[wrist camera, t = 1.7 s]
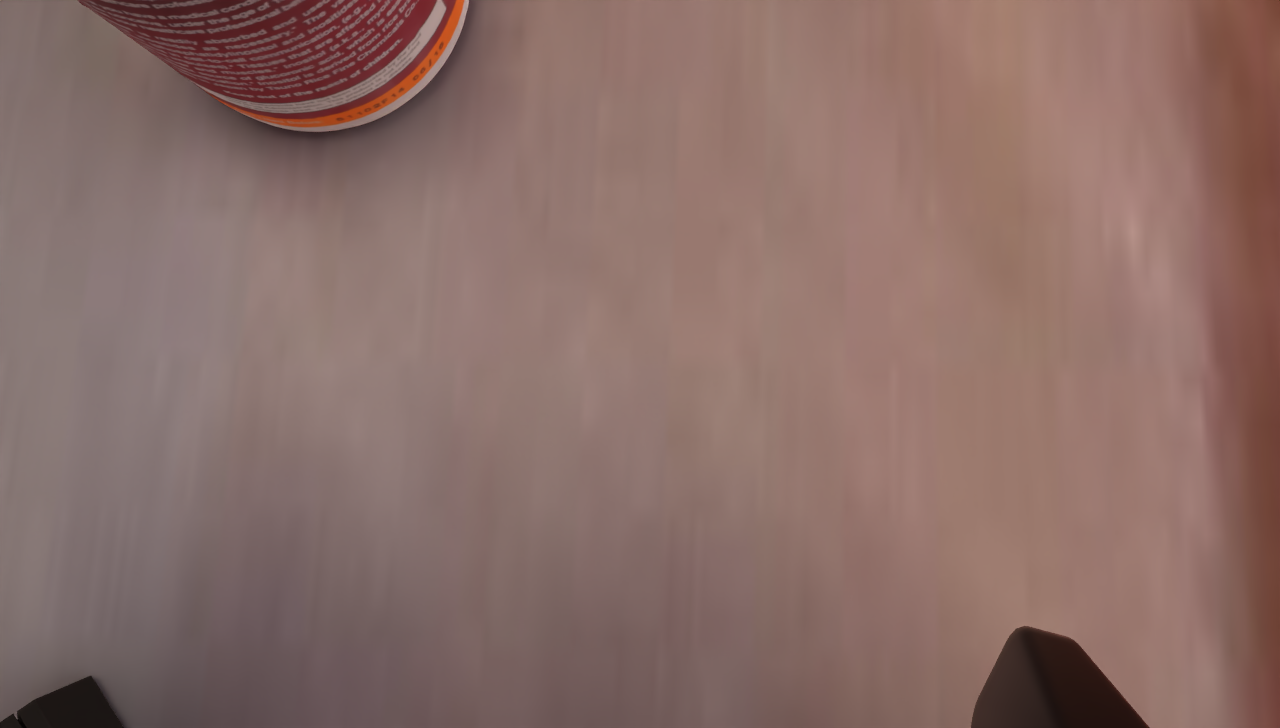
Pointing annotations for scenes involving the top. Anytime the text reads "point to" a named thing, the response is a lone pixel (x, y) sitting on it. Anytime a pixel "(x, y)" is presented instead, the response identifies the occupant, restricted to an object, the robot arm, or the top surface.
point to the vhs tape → (67, 709)
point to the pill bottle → (297, 52)
